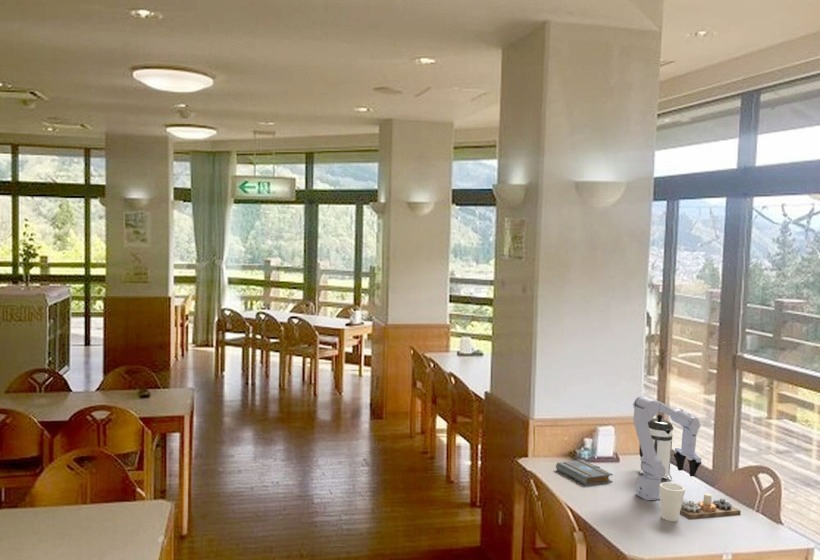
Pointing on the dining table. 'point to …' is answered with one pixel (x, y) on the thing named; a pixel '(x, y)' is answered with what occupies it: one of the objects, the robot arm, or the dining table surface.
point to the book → (584, 472)
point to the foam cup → (671, 500)
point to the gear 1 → (691, 507)
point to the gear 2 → (722, 504)
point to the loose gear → (707, 503)
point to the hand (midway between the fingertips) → (686, 473)
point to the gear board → (709, 512)
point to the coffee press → (661, 441)
